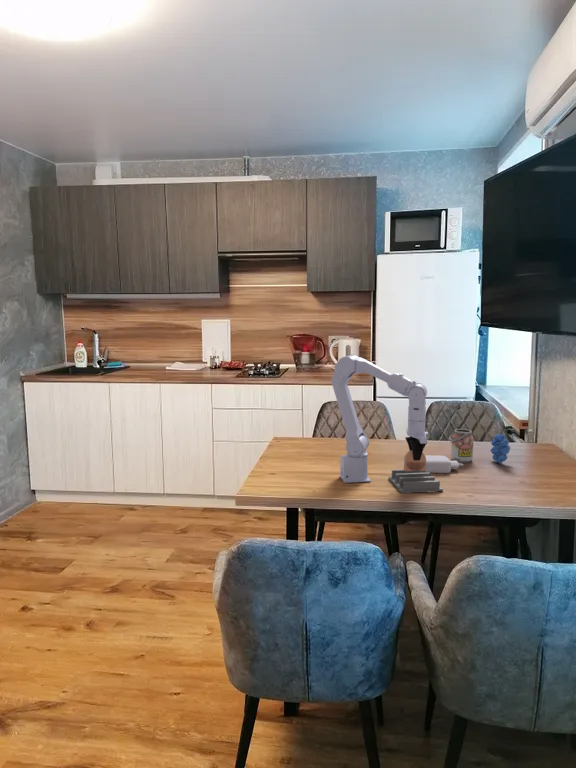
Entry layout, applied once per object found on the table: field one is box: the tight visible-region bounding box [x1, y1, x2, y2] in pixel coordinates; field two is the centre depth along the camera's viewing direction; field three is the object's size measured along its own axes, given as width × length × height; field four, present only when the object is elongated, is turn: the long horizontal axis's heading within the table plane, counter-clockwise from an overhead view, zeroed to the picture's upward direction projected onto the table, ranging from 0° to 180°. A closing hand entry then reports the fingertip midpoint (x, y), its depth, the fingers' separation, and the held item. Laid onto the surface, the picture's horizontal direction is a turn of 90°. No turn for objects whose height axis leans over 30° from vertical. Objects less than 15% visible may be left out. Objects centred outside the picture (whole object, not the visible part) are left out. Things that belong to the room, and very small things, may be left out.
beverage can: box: [448, 428, 475, 464], centre depth 217 cm, size 9×8×12 cm
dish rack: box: [388, 468, 444, 494], centre depth 188 cm, size 14×15×4 cm
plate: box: [403, 450, 426, 471], centre depth 187 cm, size 7×2×7 cm, turn 96°
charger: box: [424, 454, 464, 474], centre depth 205 cm, size 5×9×15 cm
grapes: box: [490, 433, 511, 465], centre depth 212 cm, size 12×7×12 cm, turn 6°
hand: (415, 459), depth 187 cm, fingers closed on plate, 2 cm apart
